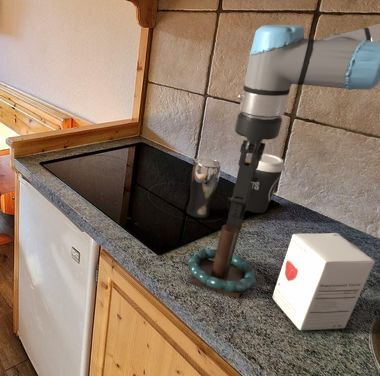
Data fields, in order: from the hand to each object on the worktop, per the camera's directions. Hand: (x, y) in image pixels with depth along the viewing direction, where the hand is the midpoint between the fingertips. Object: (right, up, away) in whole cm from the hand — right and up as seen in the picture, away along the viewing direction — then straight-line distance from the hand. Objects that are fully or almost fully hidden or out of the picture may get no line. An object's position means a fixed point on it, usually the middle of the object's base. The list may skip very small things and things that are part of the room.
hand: (236, 218), depth 85 cm
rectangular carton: (+9, -17, -9) cm, 21 cm away
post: (-4, -13, 0) cm, 13 cm away
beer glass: (+2, -1, +26) cm, 26 cm away
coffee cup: (+19, +1, +30) cm, 35 cm away
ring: (-4, -11, -1) cm, 11 cm away
